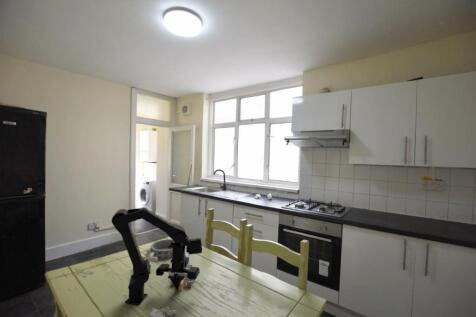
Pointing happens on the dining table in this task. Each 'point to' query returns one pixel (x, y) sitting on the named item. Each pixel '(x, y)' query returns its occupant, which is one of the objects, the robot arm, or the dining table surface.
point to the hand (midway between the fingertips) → (177, 289)
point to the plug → (184, 280)
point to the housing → (189, 282)
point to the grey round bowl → (161, 253)
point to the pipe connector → (150, 256)
